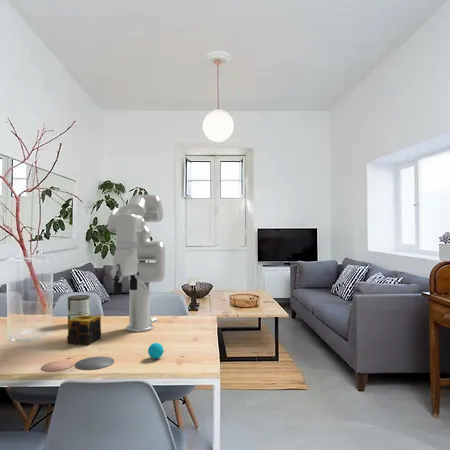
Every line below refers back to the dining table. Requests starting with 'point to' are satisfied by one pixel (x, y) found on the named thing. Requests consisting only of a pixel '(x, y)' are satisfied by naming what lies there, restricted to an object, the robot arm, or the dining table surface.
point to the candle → (84, 330)
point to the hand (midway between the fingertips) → (126, 291)
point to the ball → (155, 350)
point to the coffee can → (78, 306)
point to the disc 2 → (94, 363)
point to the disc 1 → (57, 366)
